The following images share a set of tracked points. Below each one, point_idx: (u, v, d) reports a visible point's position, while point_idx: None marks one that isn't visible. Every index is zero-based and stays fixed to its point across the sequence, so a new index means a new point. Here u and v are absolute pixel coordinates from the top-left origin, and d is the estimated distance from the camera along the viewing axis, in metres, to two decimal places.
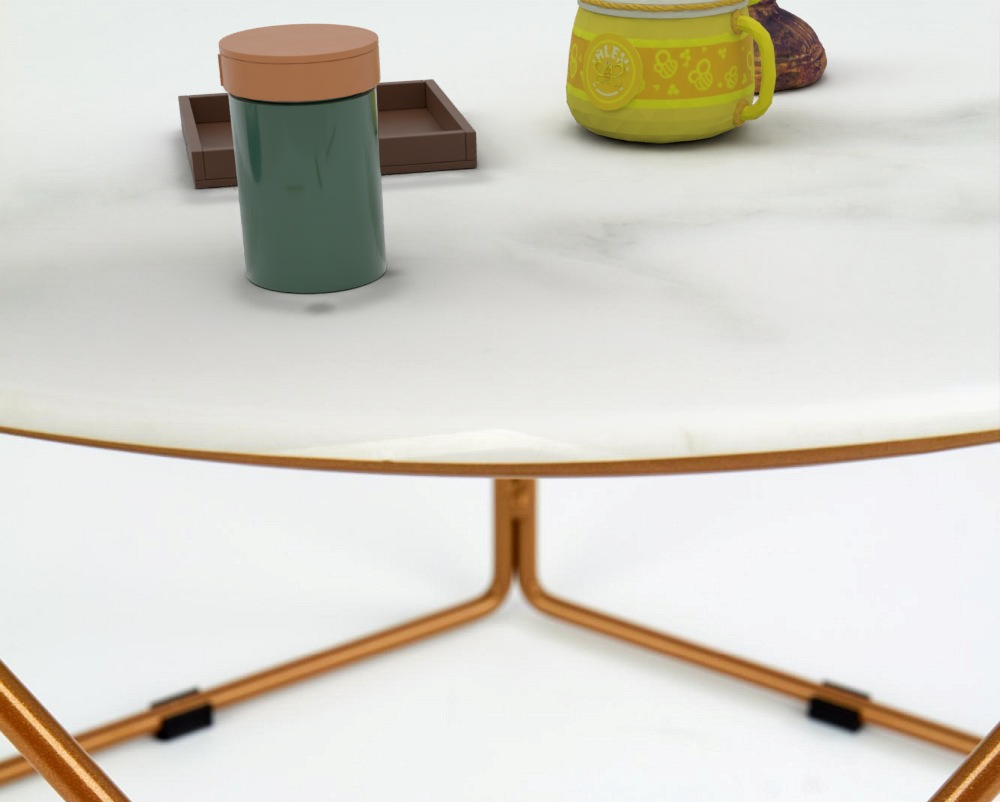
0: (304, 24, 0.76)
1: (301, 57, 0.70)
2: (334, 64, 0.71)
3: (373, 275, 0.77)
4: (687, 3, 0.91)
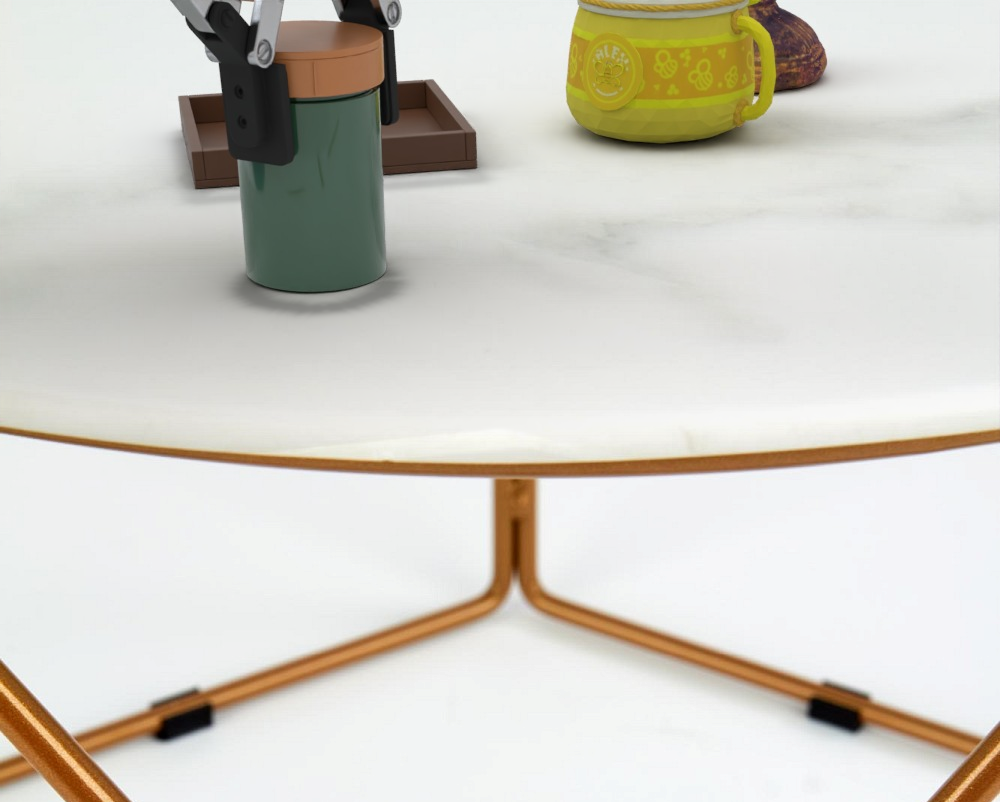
0: None
1: (382, 35, 0.74)
2: None
3: (373, 275, 0.77)
4: (687, 3, 0.91)
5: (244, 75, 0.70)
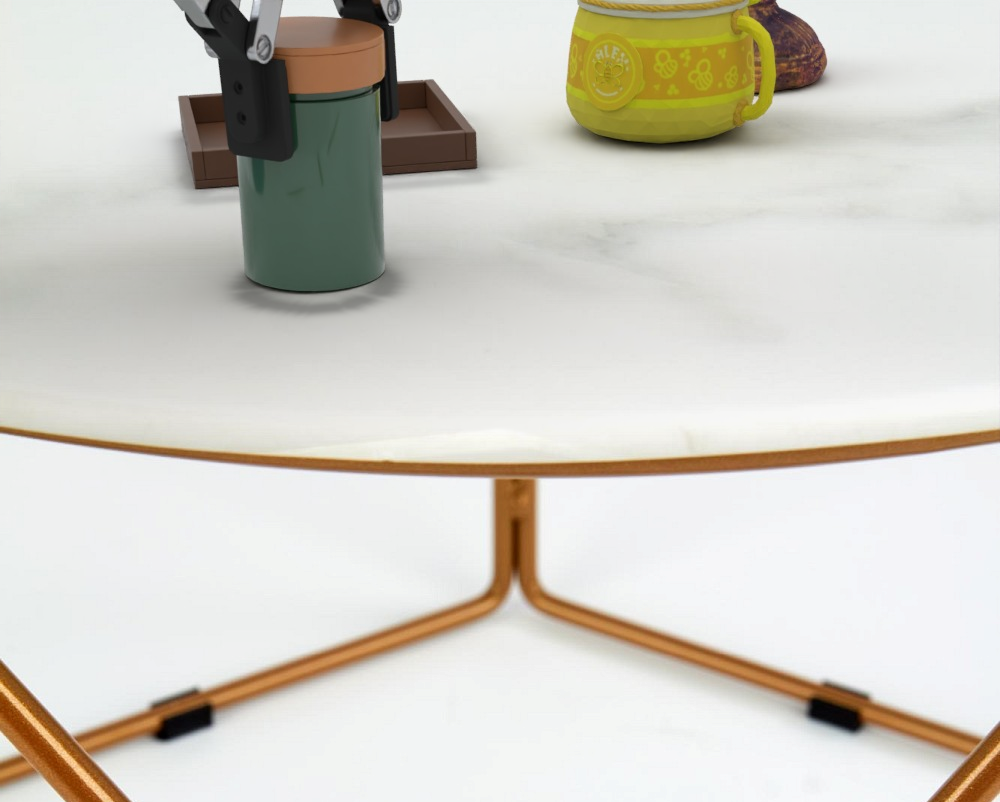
0: (299, 47, 0.70)
1: None
2: None
3: (372, 275, 0.77)
4: (687, 3, 0.91)
5: (243, 71, 0.70)
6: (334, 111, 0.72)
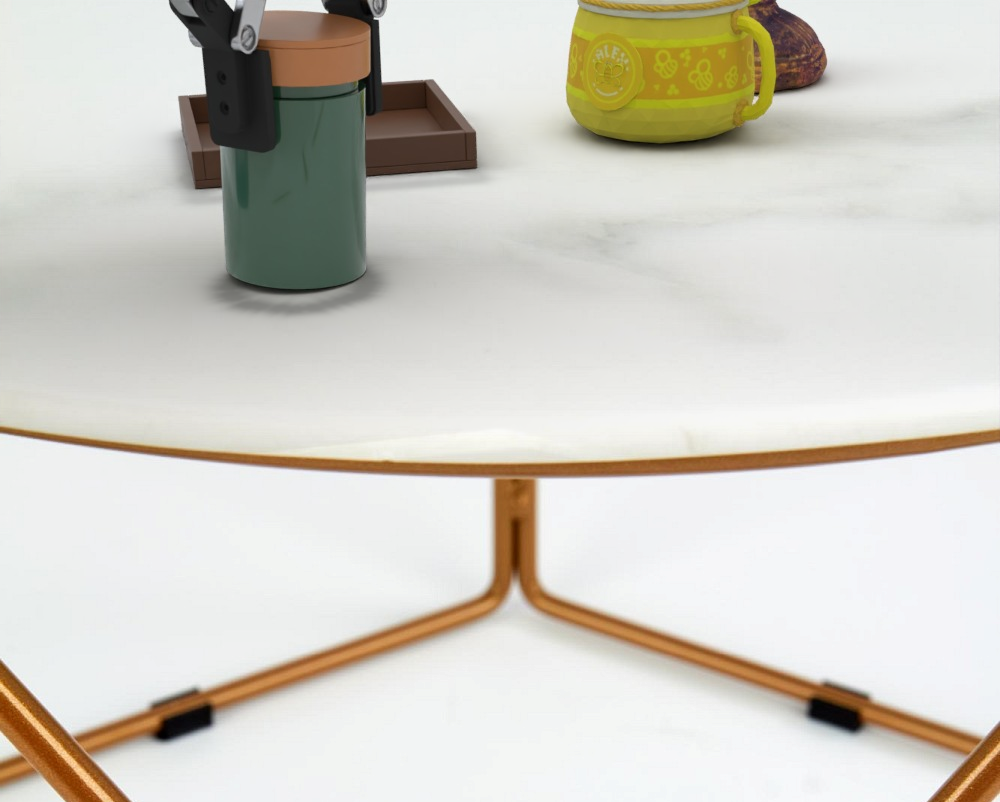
0: (365, 27, 0.73)
1: None
2: None
3: (354, 274, 0.77)
4: (687, 3, 0.91)
5: (227, 60, 0.70)
6: (320, 109, 0.72)
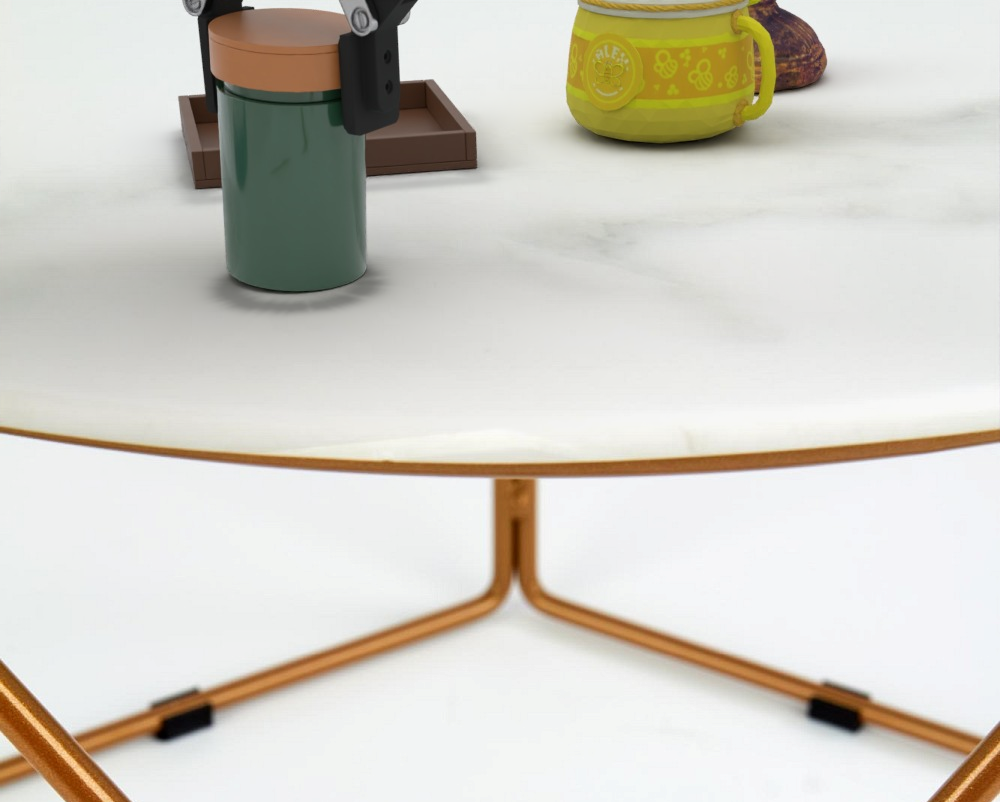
0: None
1: (208, 30, 0.72)
2: (221, 47, 0.71)
3: (354, 275, 0.77)
4: (687, 3, 0.91)
5: None
6: (319, 114, 0.72)
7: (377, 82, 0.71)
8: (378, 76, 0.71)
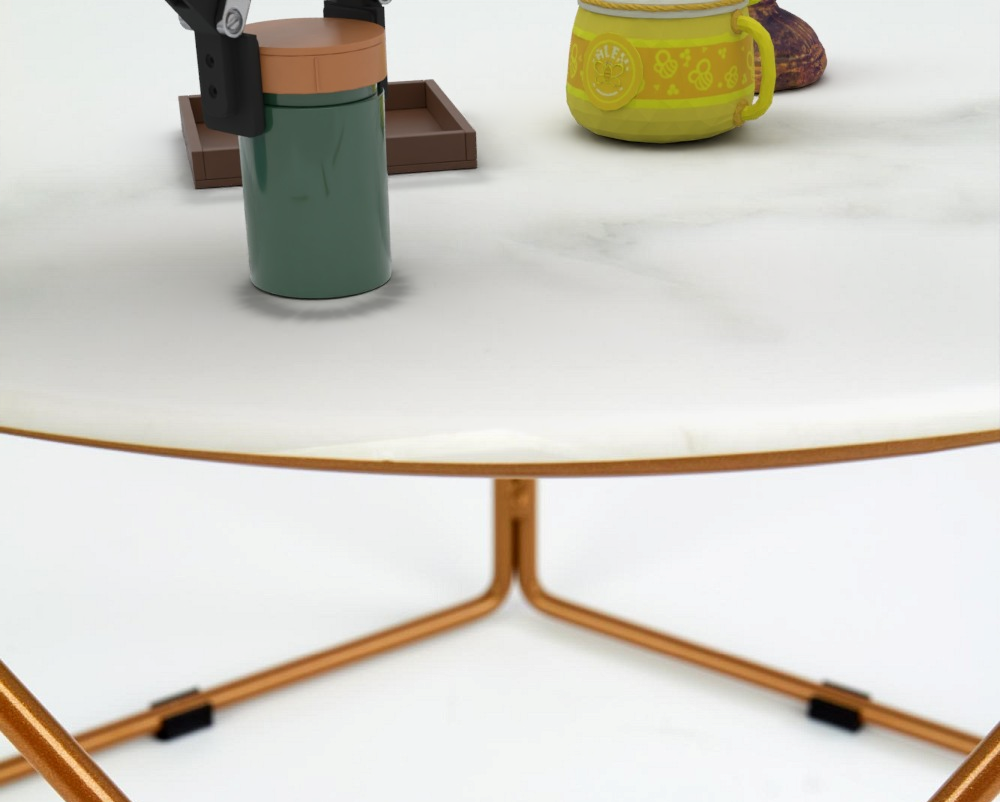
0: None
1: None
2: None
3: None
4: (687, 3, 0.91)
5: (214, 44, 0.69)
6: None
7: None
8: None
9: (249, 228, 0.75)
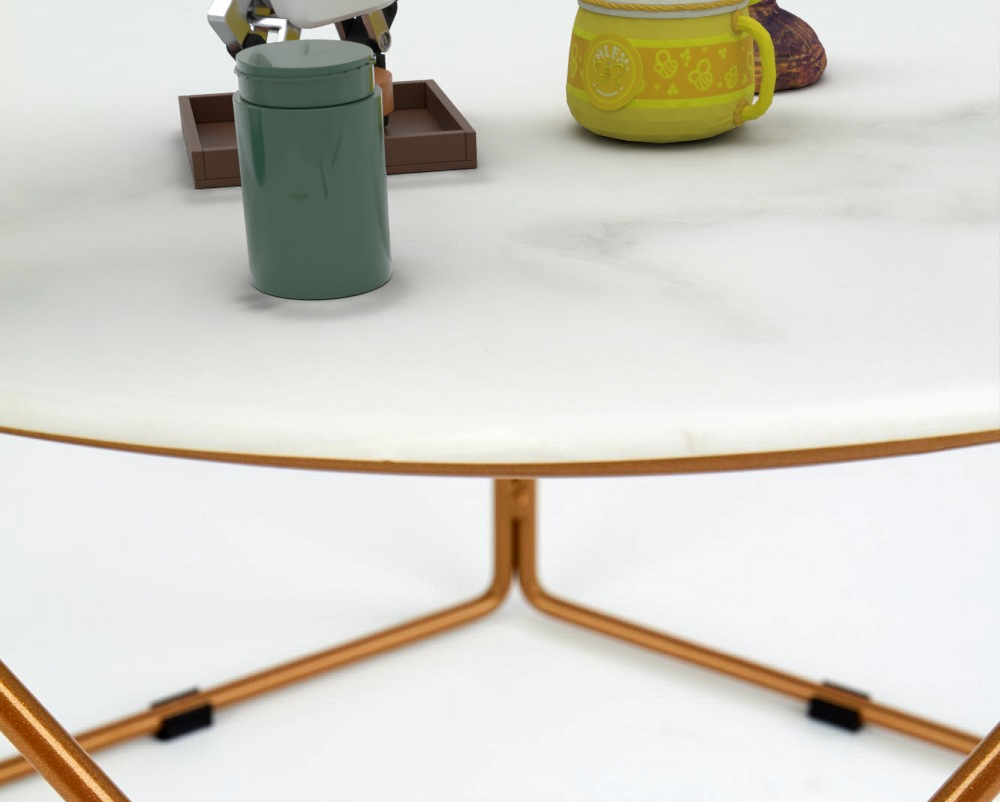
0: None
1: (390, 73, 0.95)
2: None
3: None
4: (687, 3, 0.91)
5: None
6: None
7: None
8: None
9: (249, 230, 0.75)
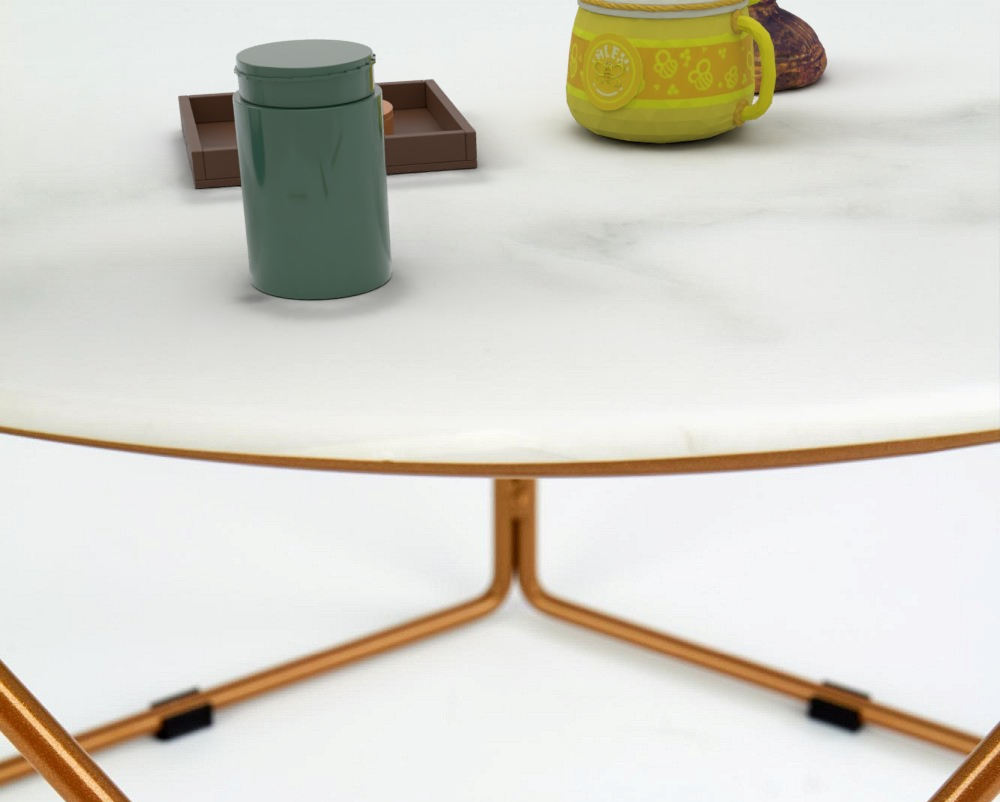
0: None
1: (391, 105, 0.96)
2: None
3: None
4: (687, 3, 0.91)
5: None
6: None
7: None
8: None
9: (249, 230, 0.75)
